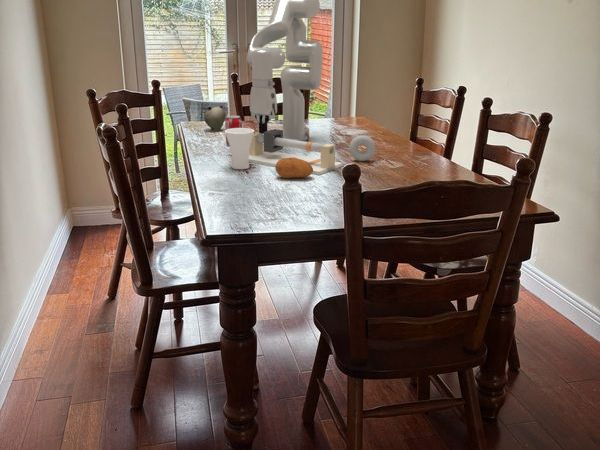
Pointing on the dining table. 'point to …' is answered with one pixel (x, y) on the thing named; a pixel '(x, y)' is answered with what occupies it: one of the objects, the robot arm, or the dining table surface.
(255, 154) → the pipe stand
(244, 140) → the cup
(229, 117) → the soda can
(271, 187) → the dining table surface
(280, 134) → the collar
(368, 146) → the donut
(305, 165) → the potato
